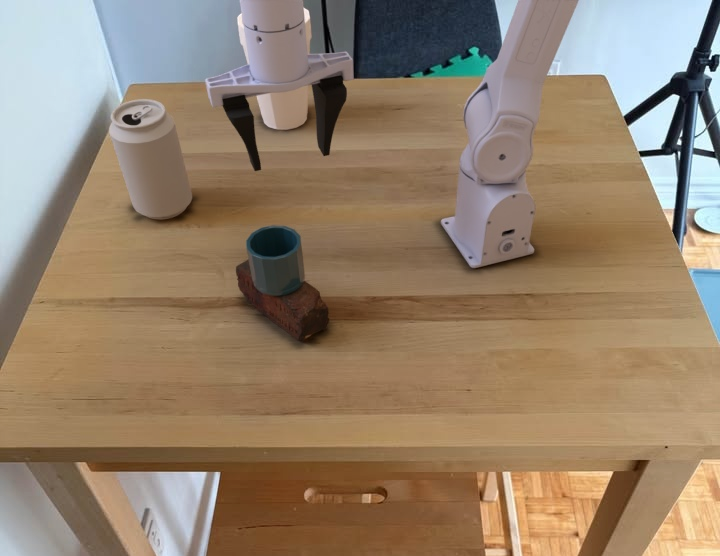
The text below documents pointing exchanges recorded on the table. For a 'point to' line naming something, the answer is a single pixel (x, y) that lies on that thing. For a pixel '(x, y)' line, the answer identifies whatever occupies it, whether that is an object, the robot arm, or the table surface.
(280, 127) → the foam cup
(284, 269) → the cup
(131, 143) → the can
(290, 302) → the brick
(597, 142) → the table surface
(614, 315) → the table surface
